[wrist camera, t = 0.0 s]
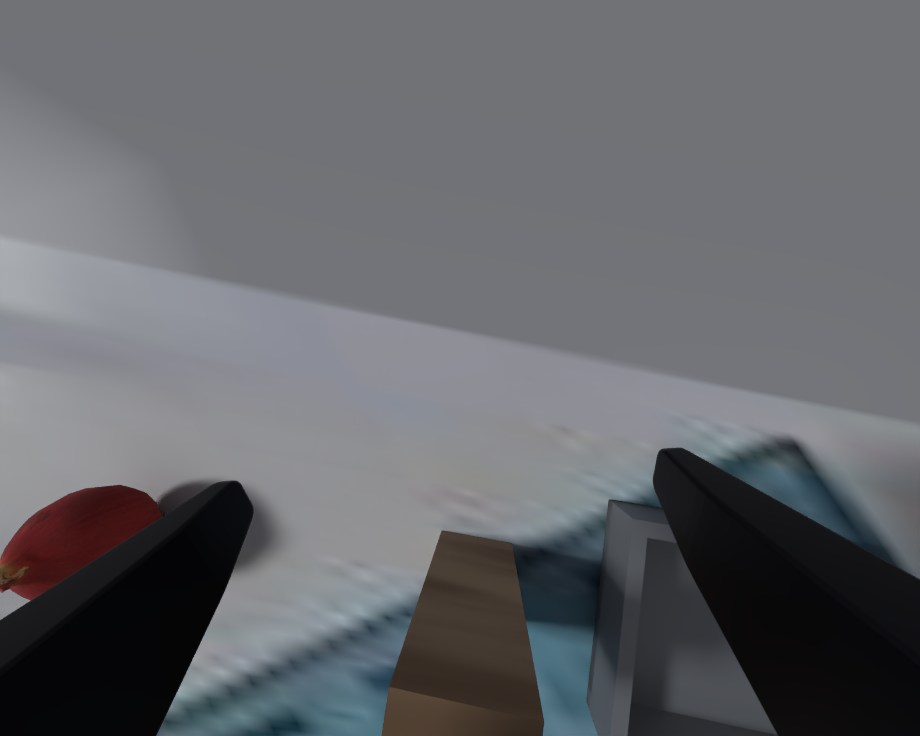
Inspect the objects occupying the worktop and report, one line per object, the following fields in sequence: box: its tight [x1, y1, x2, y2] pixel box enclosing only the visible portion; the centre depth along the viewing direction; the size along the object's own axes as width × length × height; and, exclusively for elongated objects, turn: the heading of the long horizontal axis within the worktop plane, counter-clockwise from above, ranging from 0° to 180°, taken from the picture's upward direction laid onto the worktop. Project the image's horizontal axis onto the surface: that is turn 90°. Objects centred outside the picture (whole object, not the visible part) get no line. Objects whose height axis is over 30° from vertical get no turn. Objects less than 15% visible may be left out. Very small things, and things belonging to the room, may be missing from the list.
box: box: [587, 500, 778, 736], centre depth 19 cm, size 12×12×4 cm
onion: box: [0, 485, 163, 600], centre depth 19 cm, size 6×6×8 cm
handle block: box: [382, 531, 544, 736], centre depth 16 cm, size 4×4×12 cm
